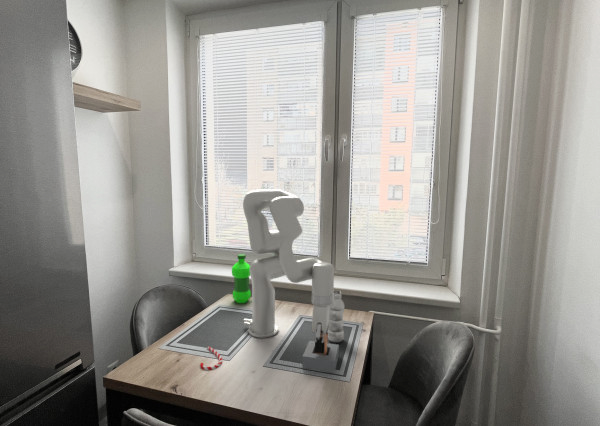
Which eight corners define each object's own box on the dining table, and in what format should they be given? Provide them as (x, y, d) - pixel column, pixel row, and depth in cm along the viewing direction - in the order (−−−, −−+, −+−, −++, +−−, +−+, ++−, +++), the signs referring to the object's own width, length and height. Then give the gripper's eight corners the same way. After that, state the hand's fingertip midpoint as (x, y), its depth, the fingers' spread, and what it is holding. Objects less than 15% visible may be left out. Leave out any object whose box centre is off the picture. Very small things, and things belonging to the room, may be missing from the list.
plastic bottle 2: (343, 345, 127) (344, 296, 125) (326, 343, 128) (327, 294, 126) (344, 337, 133) (345, 290, 131) (328, 336, 134) (329, 289, 132)
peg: (314, 364, 113) (315, 336, 113) (316, 358, 117) (317, 331, 116) (325, 366, 112) (326, 338, 112) (327, 360, 116) (328, 333, 116)
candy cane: (217, 344, 125) (224, 364, 111) (217, 347, 125) (224, 368, 111) (196, 348, 122) (201, 369, 108) (196, 351, 122) (201, 373, 108)
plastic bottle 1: (234, 297, 177) (234, 252, 174) (253, 298, 176) (253, 253, 173) (229, 304, 167) (228, 256, 165) (249, 305, 166) (249, 257, 164)
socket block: (302, 368, 111) (302, 356, 110) (309, 352, 121) (309, 340, 121) (334, 373, 108) (334, 360, 108) (338, 356, 119) (338, 344, 118)
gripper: (316, 289, 122) (315, 335, 123) (306, 306, 105) (305, 359, 107) (336, 291, 120) (335, 337, 122) (329, 308, 103) (328, 362, 105)
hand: (321, 347), depth 114 cm, fingers open, 6 cm apart
